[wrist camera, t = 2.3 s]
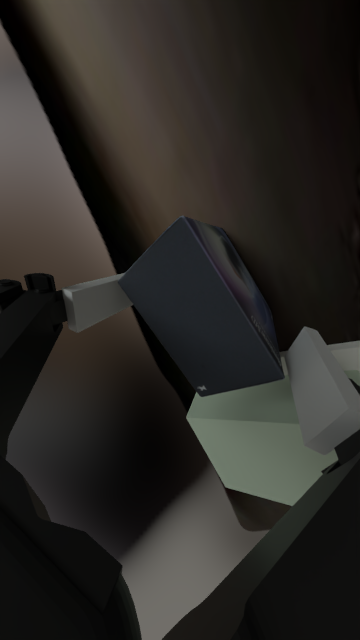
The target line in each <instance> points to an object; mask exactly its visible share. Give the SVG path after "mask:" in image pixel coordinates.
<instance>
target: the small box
mask: <svg viewBox="0 0 360 640" xmlns="http://www.w3.org/2000/svg"><path fill="white" fill-rule="evenodd" d="M118 284H119V285H120V287H121V288H122V290H123V291H124V292H125V294H126V295H127V296H128V298H129V299H130V301H131V302H132V303H133V305H134V306H135V307H136V309H137V310H138V312H139V313H140V314H141V316H142V317H143V318H144V320H145V321H146V323H147V324H148V325H149V327H150V328H151V330H152V331H153V332H154V334H155V335H156V336H157V338H158V339H159V341H160V342H161V343H162V345H163V346H164V348H165V349H166V350H167V352H168V353H169V354H170V356H171V357H172V359H173V360H174V361H175V363H176V364H177V365H178V367H179V368H180V370H181V371H182V372H183V374H184V375H185V377H186V378H187V379H188V381H189V382H190V383H191V385H192V386H193V388H194V389H195V390H196V392H197V393H198V395H199V396H200V397H207V396H211V395H215V394H220V393H224V392H229V391H234V390H238V389H244V388H248V387H253V386H258V385H262V384H267V383H271V382H276V381H280V380H284V379H285V375H284V372H283V368H282V362H281V357H280V352H279V347H278V342H277V337H276V332H275V327H274V322H273V317H272V312H271V310H270V308H269V306H268V304H267V303H266V301H265V299H264V297H263V296H262V294H261V292H260V290H259V289H258V287H257V285H256V284H255V282H254V280H253V278H252V277H251V275H250V273H249V272H248V270H247V268H246V267H245V265H244V263H243V262H242V260H241V258H240V257H239V255H238V253H237V252H236V250H235V248H234V247H233V245H232V243H231V242H230V240H229V238H228V237H227V235H226V234H225V232H224V230H223V229H222V228H219V227H216V226H212V225H209V224H206V223H203V222H200V221H197V220H194V219H190V218H188V217H184V216H180V217H179V218H178V219H177V220H176V221H175V222H174V223H173V224H172V225H171V226H170V227H168V228H167V229H166V231H165V232H164V233H163V234H162V235H161V236H160V237H159V238H158V239H157V240H156V241H155V242H154V243H153V244H152V245H151V246H150V247H149V248H148V249H147V250H146V251H145V252H144V253H143V255H142V256H141V257H140V258H139V259H138V260H137V261H136V262H135V263H134V264H133V265H132V266H131V267H130V268H129V269H128V270H127V272H126V273H125V274H124V275H123V276H122V277H121V278H120V279H119V280H118Z"/></svg>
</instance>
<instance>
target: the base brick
mask: <svg viewBox="0 0 360 640" xmlns="http://www.w3.org/2000/svg"><path fill="white" fill-rule="evenodd" d="M344 372H345V374H346V375H347V377H348V378H350V379H352V380H353V381H354V382H355V383H356V384H357V385H359V386H360V373H359V371H358V370H348V371H344ZM186 418H187V420H188V422H189V423H190V425H191V427H192V429H193V430H194V432H195V434H196V436H197V437H198V439H199V441H200V443H201V445H202V446H203V448H204V450H205V452H206V453H207V455H208V457H209V459H210V460H211V462H212V464H213V466H214V467H215V469H216V471H217V473H218V474H219V476H220V478H221V480H222V481H223V483H224V485H225V487H227V488H230V489H234V490H237V491H241V492H245V493H248V494H252V495H255V496H259V497H262V498H266V499H270V500H273V501H277V502H280V503H284V504H288V505H291V506H293V505H294V504H295V503H296V502H297V501H298V500H299V499H300V498H301V497H302V496H303V495H304V494H305V492H306V491H307V490H308V489H309V488H310V487H311V486H312V485H313V484H314V483H315V482H316V481H317V480H318V479H319V478H320V476H321V475H322V474H323V473H322V472H321V471H322V470H324V469H325V468H327V467H328V466H330V465H331V464H333V463H334V462H336V461H337V460H338V457H337V454H336V452H335V449H334V450H332V451H331V452H330V453H328V454H327V455H325V456H324V455H322V454H320V453H318V452H316V451H314V450H312V449H310V448H307V447H305V446H304V442H303V437H302V433H301V428H300V424H299V420H298V415H297V411H296V406H295V402H294V398H293V393H292V389H291V384H290V380H289V375H285V379H284V380H280V381H276V382H271V383H267V384H262V385H258V386H253V387H248V388H244V389H238V390H234V391H229V392H224V393H220V394H215V395H211V396H207V397H200V396H199V395H198V393H197V392H196V395H195V397H194V400H193V402H192V405H191V407H190V409H189V412H188V414H187V417H186Z"/></svg>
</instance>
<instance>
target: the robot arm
mask: <svg viewBox="0 0 360 640" xmlns="http://www.w3.org/2000/svg"><path fill="white" fill-rule="evenodd" d="M124 274H125V273H123V274H119V275H115V276H110V277H106V278H102V279H98V280H94V281H89V282H85V283H81V284H77V285H73V286H69V287H65V288H62V290H60V291H56V288H55V282H54V277H53V276H52V275H49V274H44V273H34V274H27V275H25V276H24V278H25V281H26V285H27V288H28V290H27V291H26V290H23V289H22V285H21V283H20V282H19V281H15V280H9V279H3V280H0V640H142V638H141V632H140V626H139V622H138V618H137V614H136V610H135V606H134V602H133V600H132V597H131V594H130V591H129V588H128V586H127V584H126V582H125V580H124V578H123V576H122V574H121V573H122V565H121V564H120V563H119V562H118V561H117V560H116V559H115V558H114V557H112V556H111V555H110V554H109V553H108V552H107V551H106V550H105V549H103V548H102V547H101V546H100V545H99V544H98V543H97V542H96V541H95V540H94V539H92V538H91V537H90V536H89V535H88V534H87V533H86V532H84V531H80V530H77V529H74V528H70V527H67V526H64V525H60V524H57V523H53V522H51V520H50V517H49V515H48V512H47V510H46V507H45V505H44V504H43V503H42V501H41V500H40V499H39V497H38V496H37V495H36V493H35V492H34V490H33V489H32V488H31V486H30V485H29V484H28V482H27V481H26V479H25V478H24V477H23V475H22V474H21V473H20V472H18V471H17V470H16V469H15V468H14V467H13V466H12V465H11V464H10V463H8V462H7V461H6V460H5V459H6V454H7V443H8V437H9V434H10V432H11V430H12V428H13V426H14V424H15V422H16V420H17V418H18V416H19V414H20V412H21V410H22V408H23V406H24V404H25V402H26V400H27V398H28V396H29V394H30V392H31V390H32V388H33V386H34V384H35V382H36V380H37V378H38V376H39V374H40V372H41V370H42V368H43V366H44V364H45V362H46V360H47V358H48V356H49V354H50V352H51V350H52V348H53V346H54V344H55V342H56V340H57V338H58V336H59V335H60V333H61V331H62V328H63V324H62V322H65V321H68V327H69V329H71V330H73V331H75V332H77V333H78V332H80V331H82V330H84V329H86V328H88V327H90V326H92V325H94V324H96V323H98V322H100V321H102V320H104V319H106V318H108V317H110V316H112V315H114V314H116V313H118V312H119V311H122V310H124V309H125V308H127V307H129V306H131V305H133V303H132V302H131V301H130V299H129V298H128V296H127V295H126V294H125V292H124V291H123V290H122V288H121V287H120V285H119V284H118V280H119V279H120V278H121V277H122V276H123V275H124ZM284 358H285V362H286V367H287V371H288V375H289V380H290V384H291V389H292V393H293V398H294V402H295V406H296V411H297V415H298V420H299V424H300V428H301V433H302V437H303V442H304V446H305V447H307V448H310V449H312V450H314V451H316V452H318V453H320V454H322V455H324V456H325V455H327V454H328V453H330V452H331V451H332V450H334V449H335V452H336V454H337V457H338V460H337V461H336V462H334V463H333V464H331V465H330V466H328V467H327V468H325V469H324V470H322V471H321V472H322V473H323V474H322V475H321V476H320V478H319V479H318V480H317V481H316V482H315V483H314V484H313V485H312V486H311V487H310V488H309V489H308V490H307V491H306V492H305V494H304V495H303V496H302V497H301V498H300V499H299V500H298V501H297V502H296V503H295V504H294V505H293V506H292V507H291V508H290V510H289V511H288V512H287V513H286V514H285V515H284V516H283V517H282V518H281V519H280V520H279V521H278V522H277V523H276V524H275V526H274V527H273V528H272V529H271V530H270V531H269V532H268V533H267V534H266V535H265V536H264V537H263V538H262V539H261V540H260V542H259V543H258V544H257V545H256V546H255V547H254V548H253V549H252V550H251V551H250V552H249V553H248V554H247V555H246V556H245V558H244V559H243V560H242V561H241V562H240V563H239V564H238V565H237V566H236V567H235V568H234V569H233V570H232V571H231V572H230V574H229V575H228V576H227V577H226V578H225V579H224V580H223V581H222V582H221V583H220V584H219V585H218V586H217V587H216V588H215V590H214V591H213V592H212V593H211V594H210V595H209V596H208V597H207V598H206V599H205V600H204V601H203V602H202V603H201V604H199V605H198V606H197V607H196V608H194V609H193V610H191V611H190V612H189V613H188V614H187V615H185V616H184V617H183V618H182V619H181V620H180V621H179V622H178V623H177V624H176V625H175V626H174V627H173V628H172V629H171V630H170V631H169V632H168V633H167V634H166V635H165V636H164V638H163V639H162V640H360V386H359V385H357V384H356V383H355V382H354V381H353V380H352V379H350V378H348V377H347V375H346V374H345V372H344V371H343V369H342V368H341V366H340V365H339V363H338V362H337V360H336V358H335V357H334V355H333V354H332V352H331V351H330V349H329V348H328V346H327V345H326V343H325V342H324V340H323V339H322V337H321V336H320V334H319V333H318V331H317V330H314V329H311V328H308V327H305V326H304V328H303V329H302V331H301V332H300V334H299V335H298V336H297V338H296V339H295V341H294V342H293V344H292V345H291V347H290V348H289V350H288V351H287V353H286V354H285V356H284Z"/></svg>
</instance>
